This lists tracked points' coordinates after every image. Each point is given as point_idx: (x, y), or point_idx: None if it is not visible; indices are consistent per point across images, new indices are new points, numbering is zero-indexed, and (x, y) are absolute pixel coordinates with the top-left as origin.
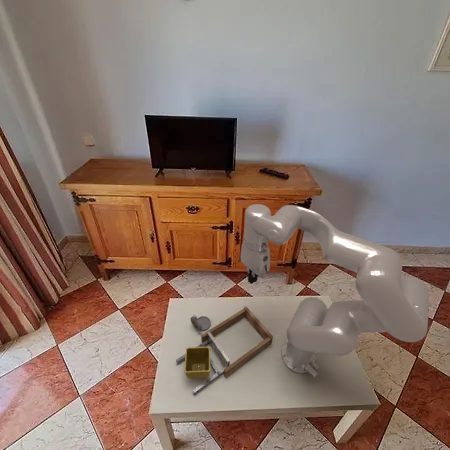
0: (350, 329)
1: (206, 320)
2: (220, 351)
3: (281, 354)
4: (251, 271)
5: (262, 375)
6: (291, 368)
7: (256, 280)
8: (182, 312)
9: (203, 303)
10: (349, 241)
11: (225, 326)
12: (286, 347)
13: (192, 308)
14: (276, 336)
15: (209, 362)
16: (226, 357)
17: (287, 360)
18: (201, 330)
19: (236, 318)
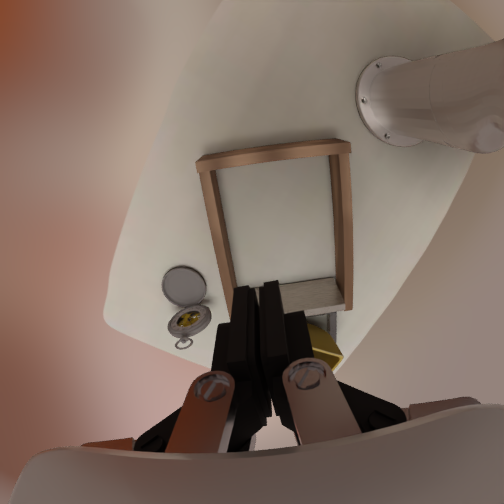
0: None
1: (177, 274)
2: (311, 315)
3: (378, 137)
4: (252, 425)
5: (386, 213)
6: (418, 142)
7: (304, 319)
8: (132, 315)
9: (119, 258)
10: None
11: (226, 246)
12: (371, 111)
13: (127, 290)
14: (322, 108)
15: (326, 353)
16: (334, 307)
17: (399, 136)
18: (202, 297)
19: (217, 205)
